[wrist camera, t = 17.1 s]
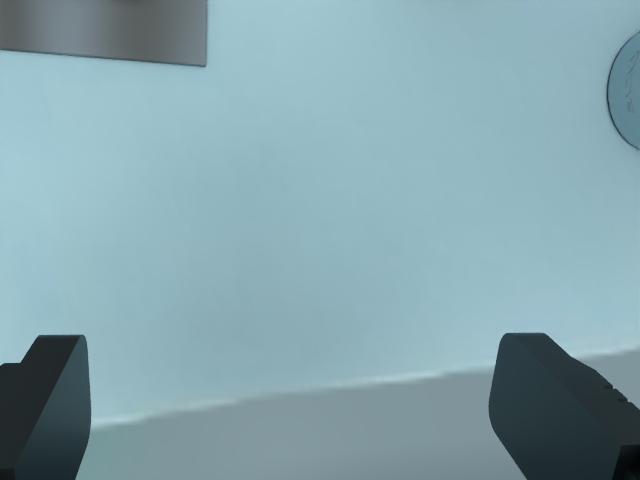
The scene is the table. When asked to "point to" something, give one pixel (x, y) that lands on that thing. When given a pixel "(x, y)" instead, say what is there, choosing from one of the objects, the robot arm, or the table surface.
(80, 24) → the collar
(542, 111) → the table surface
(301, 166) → the table surface
